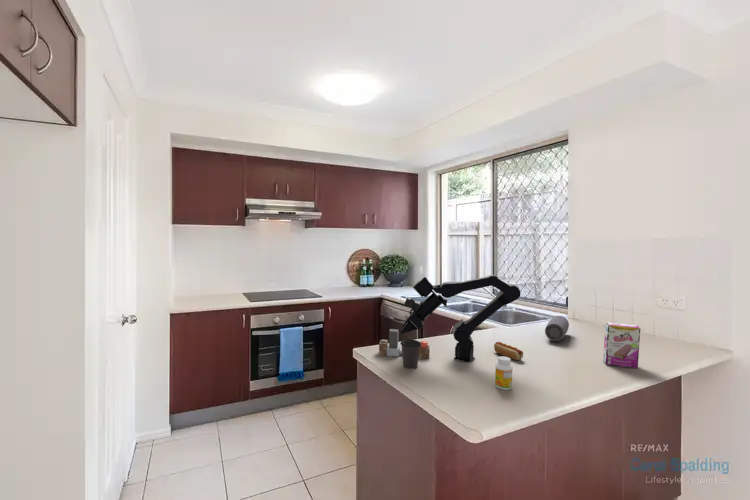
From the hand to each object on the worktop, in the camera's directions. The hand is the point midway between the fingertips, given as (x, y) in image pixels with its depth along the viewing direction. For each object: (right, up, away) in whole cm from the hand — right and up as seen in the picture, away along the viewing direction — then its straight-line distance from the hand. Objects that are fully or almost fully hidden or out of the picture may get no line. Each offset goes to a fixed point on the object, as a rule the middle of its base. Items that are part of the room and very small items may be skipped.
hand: (401, 330), depth 154 cm
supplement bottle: (+32, -13, -31) cm, 46 cm away
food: (+45, -12, +1) cm, 46 cm away
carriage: (-4, -10, +1) cm, 11 cm away
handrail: (0, -10, 0) cm, 10 cm away
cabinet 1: (-8, -10, +2) cm, 13 cm away
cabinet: (+9, -11, -1) cm, 14 cm away
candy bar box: (+87, -13, -7) cm, 88 cm away
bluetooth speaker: (+81, -11, +32) cm, 87 cm away
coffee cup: (+2, -11, -13) cm, 18 cm away
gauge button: (+9, -9, -1) cm, 13 cm away
